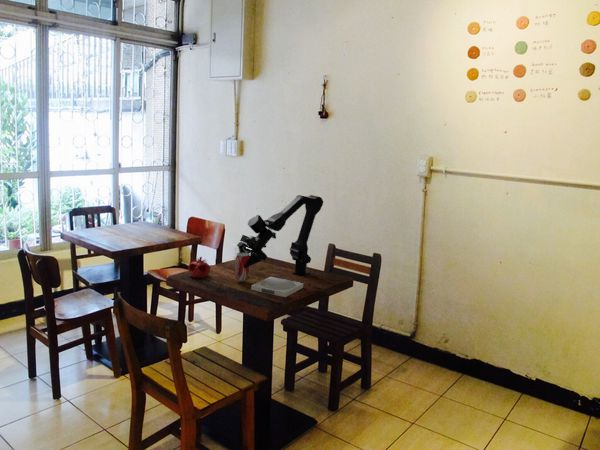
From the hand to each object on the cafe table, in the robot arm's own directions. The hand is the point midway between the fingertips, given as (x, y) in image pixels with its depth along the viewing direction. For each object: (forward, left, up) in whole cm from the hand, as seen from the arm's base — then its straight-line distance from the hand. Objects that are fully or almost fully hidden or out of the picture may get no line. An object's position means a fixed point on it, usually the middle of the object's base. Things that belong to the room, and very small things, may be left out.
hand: (240, 265), depth 238 cm
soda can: (-1, +1, -7) cm, 7 cm away
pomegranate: (+3, -20, -8) cm, 22 cm away
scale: (-2, +19, -8) cm, 20 cm away
